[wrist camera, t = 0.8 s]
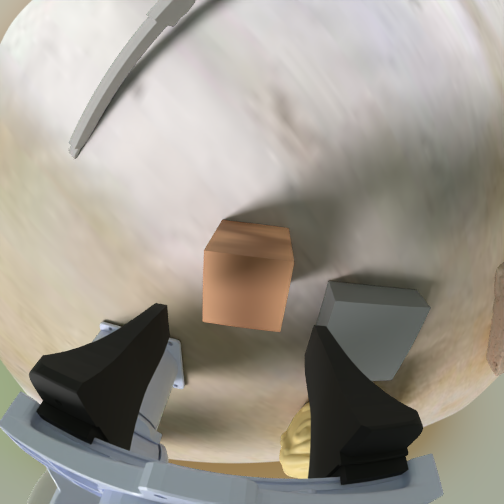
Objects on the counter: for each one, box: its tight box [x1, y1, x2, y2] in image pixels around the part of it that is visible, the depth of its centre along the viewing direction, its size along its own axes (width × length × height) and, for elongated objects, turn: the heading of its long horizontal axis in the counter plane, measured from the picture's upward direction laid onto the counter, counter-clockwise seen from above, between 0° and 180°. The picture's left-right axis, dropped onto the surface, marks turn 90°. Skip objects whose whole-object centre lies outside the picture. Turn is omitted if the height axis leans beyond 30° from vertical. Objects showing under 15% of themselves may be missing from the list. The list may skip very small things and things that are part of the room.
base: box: [316, 281, 430, 381], centre depth 22 cm, size 9×9×3 cm
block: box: [203, 220, 294, 332], centre depth 19 cm, size 5×5×6 cm
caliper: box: [69, 0, 195, 159], centre depth 13 cm, size 20×1×6 cm, turn 134°
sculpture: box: [279, 402, 311, 479], centre depth 24 cm, size 11×12×11 cm
